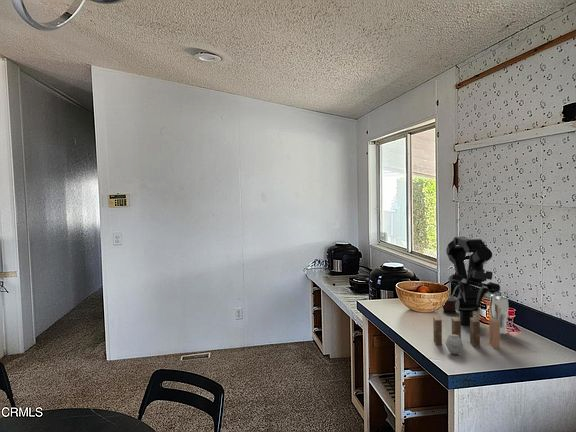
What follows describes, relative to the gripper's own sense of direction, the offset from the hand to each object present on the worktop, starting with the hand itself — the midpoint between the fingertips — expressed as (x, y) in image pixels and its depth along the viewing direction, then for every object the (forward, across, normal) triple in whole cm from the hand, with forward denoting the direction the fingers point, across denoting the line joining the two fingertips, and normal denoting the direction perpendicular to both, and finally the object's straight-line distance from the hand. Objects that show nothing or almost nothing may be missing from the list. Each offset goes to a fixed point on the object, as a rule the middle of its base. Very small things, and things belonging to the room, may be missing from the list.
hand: (471, 303), depth 160 cm
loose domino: (+14, +10, +1) cm, 17 cm away
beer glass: (+5, +17, +15) cm, 23 cm away
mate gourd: (-4, +3, +41) cm, 42 cm away
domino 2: (+17, -3, +3) cm, 17 cm away
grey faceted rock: (+22, -6, -6) cm, 24 cm away
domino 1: (+18, -10, +4) cm, 21 cm away
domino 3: (+15, +4, +2) cm, 16 cm away
